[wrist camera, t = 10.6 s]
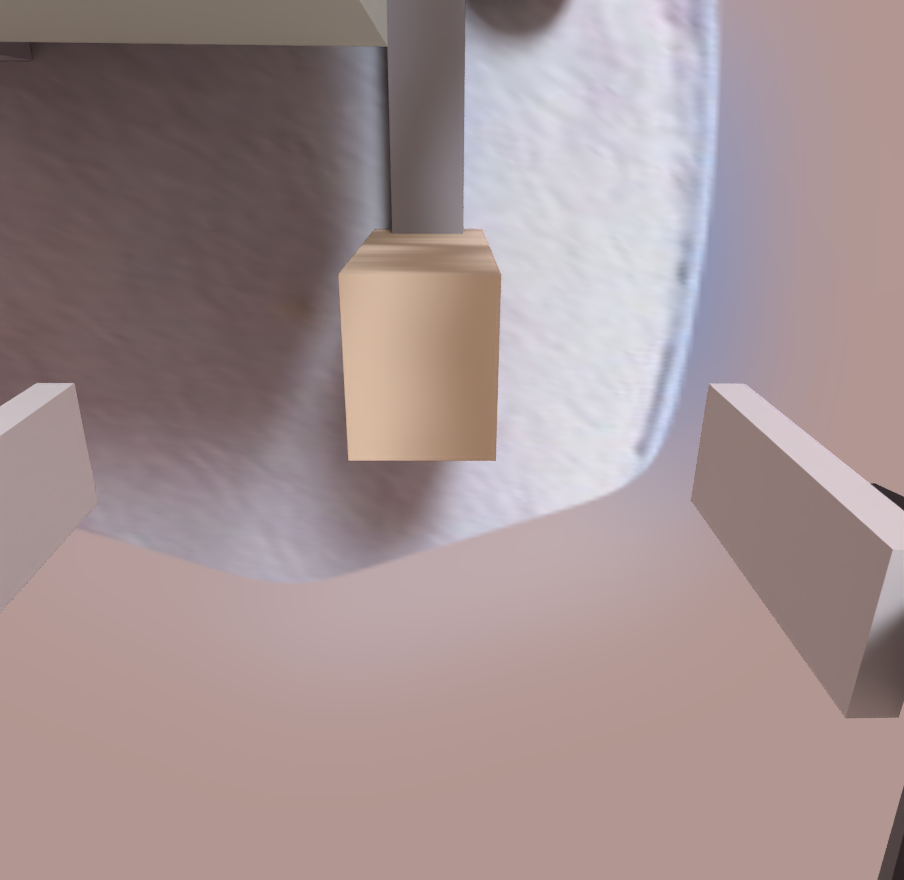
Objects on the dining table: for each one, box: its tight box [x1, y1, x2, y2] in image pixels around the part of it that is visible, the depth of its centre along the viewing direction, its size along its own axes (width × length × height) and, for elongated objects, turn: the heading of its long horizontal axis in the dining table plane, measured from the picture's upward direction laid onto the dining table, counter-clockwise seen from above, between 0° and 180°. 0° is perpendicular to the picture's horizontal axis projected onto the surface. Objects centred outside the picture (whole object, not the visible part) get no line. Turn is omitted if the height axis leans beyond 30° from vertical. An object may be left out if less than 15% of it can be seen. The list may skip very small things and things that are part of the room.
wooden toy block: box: [338, 0, 501, 461], centre depth 21 cm, size 4×21×10 cm, turn 0°
